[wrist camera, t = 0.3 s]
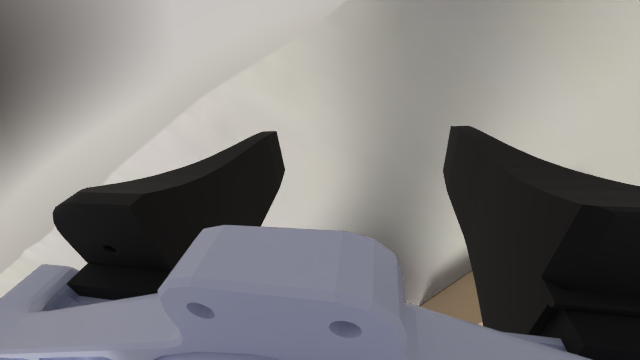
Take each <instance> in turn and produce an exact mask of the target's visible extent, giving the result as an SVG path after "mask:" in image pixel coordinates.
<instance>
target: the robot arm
mask: <svg viewBox="0 0 640 360" xmlns="http://www.w3.org/2000/svg"><path fill="white" fill-rule="evenodd" d="M284 172H285V168H284V163H283V159H282V154H281V150H280V145H279V141H278V136H277V132H276V131H269V132H261V133H258V134H256V135H253V136H251V137H249V138H247V139H245V140H243V141H241V142H239V143H237V144H236V145H234V146H232V147H230V148H228V149H226V150H223V151H221V152H219V153H217V154H215V155H213V156H211V157H209V158H206V159H204V160H201V161H199V162H196V163H194V164H191V165H188V166H185V167H182V168H179V169H176V170H172V171H169V172H166V173H162V174H159V175H155V176H151V177H147V178H142V179H137V180H133V181H128V182H122V183H116V184H110V185H103V186H97V187H90V188H86V189H82V190H80V191H79V192H77V193H76V194H74V195H73V196H71V197H70V198H68V199H67V200H65V201H64V202H62V203H61V204H60V205H58V206H57V207H55V209H54V211H53V220H54V224H55V226H56V228H57V230H58V231H59V232H60V233H61V235H62V236H63V237H64V238H65V239H66V240H67V242H68V243H69V244H70V245H71V246H72V247H73V248H74V249H75V250H76V251H77V252H78V253H79V254H80V255H81V256H82V258H83V259H84V260H85V261H86V262H87V263H88V264H87V265H86V266H85V267H83V268H82V269H81V270H80V271H78V270H76V269H74V268H72V267H67V266H58V265H48V264H44V265H41V266H39V267H38V268H37V269H36V270H35V271H33V272H32V273H31V274H30V275H29V276H27V277H26V278H25V279H24V280H22V281H21V282H20V283H19V284H18V285H16V286H15V287H14V288H13V289H11V290H10V291H9V292H8V293H7V294H5V295H4V296H3V297H2V298H1V299H0V360H640V186H635V185H630V184H625V183H621V182H617V181H612V180H608V179H604V178H600V177H596V176H593V175H589V174H585V173H581V172H578V171H574V170H571V169H568V168H565V167H562V166H559V165H556V164H553V163H550V162H547V161H544V160H542V159H539V158H537V157H534V156H532V155H529V154H527V153H525V152H523V151H520V150H518V149H516V148H514V147H511V146H509V145H507V144H505V143H503V142H501V141H499V140H497V139H495V138H493V137H491V136H489V135H488V134H486V133H484V132H482V131H480V130H477V129H475V128H473V127H470V126H451V129H450V135H449V140H448V146H447V152H446V157H445V163H444V169H443V173H444V178H445V184H446V188H447V192H448V195H449V198H450V200H451V203H452V206H453V208H454V211H455V214H456V216H457V219H458V222H459V224H460V227H461V230H462V232H463V235H464V239H465V242H466V245H467V249H468V254H469V258H470V262H471V266H472V271H473V276H474V281H475V285H476V290H477V295H478V301H479V306H480V312H481V317H482V323H483V326H481V325H478V324H474V323H471V322H468V321H465V320H461V319H458V318H455V317H452V316H448V315H445V314H442V313H439V312H435V311H432V310H429V309H425V308H422V307H419V306H416V305H412V304H409V303H406V302H405V299H404V286H403V273H402V270H401V268H400V265H399V262H398V259H397V256H396V254H395V253H393V252H392V251H391V250H389V249H388V248H386V247H385V246H384V245H382V244H381V243H380V242H378V241H377V240H376V239H374V238H372V237H367V236H363V235H359V234H355V233H351V232H347V231H334V230H315V229H296V228H277V227H261V225H262V223H263V221H264V219H265V217H266V215H267V213H268V210H269V208H270V206H271V204H272V202H273V200H274V198H275V196H276V194H277V192H278V190H279V188H280V185H281V182H282V179H283V175H284Z"/></svg>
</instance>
